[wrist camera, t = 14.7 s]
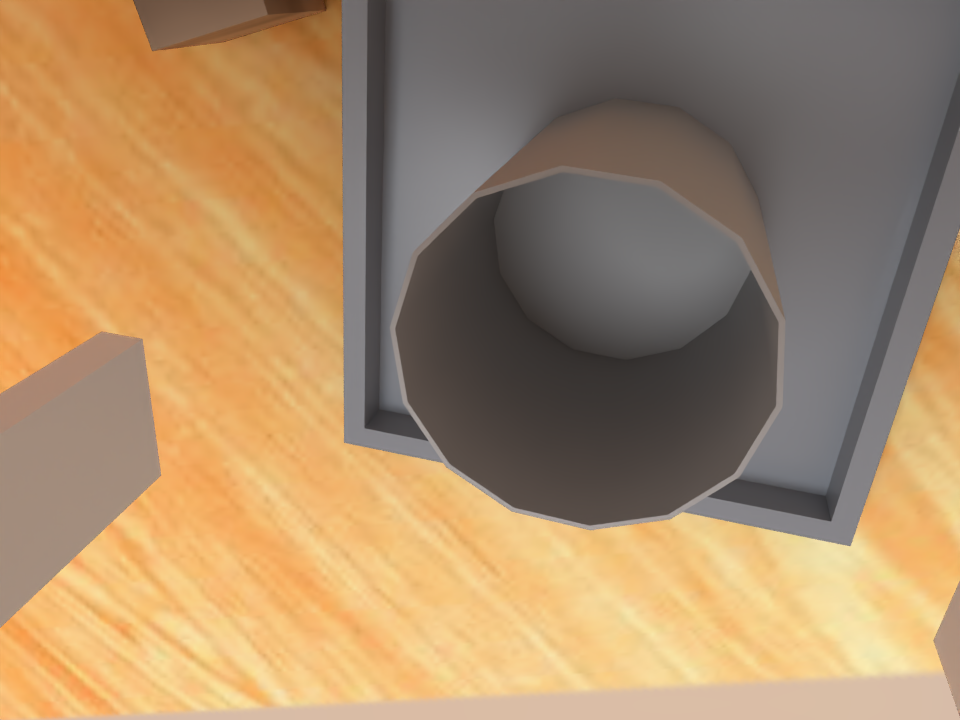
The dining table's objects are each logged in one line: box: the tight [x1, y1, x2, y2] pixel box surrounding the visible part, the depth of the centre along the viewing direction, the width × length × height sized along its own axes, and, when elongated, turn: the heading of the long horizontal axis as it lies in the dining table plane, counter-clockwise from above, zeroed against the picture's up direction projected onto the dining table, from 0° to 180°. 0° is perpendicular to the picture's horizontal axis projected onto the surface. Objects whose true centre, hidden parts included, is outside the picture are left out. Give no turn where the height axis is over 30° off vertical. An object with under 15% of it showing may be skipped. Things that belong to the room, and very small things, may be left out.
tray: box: [342, 0, 960, 546], centre depth 25 cm, size 18×18×2 cm
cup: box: [390, 98, 785, 530], centre depth 21 cm, size 8×8×10 cm
